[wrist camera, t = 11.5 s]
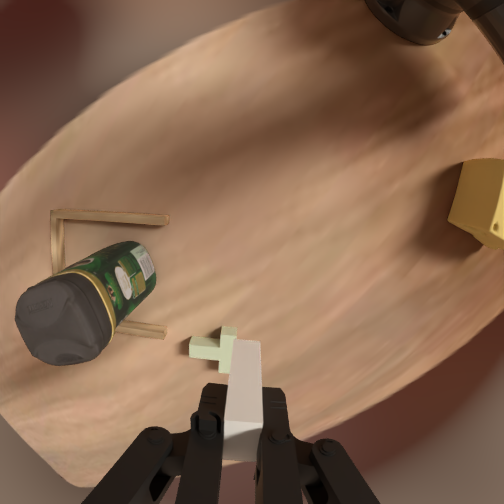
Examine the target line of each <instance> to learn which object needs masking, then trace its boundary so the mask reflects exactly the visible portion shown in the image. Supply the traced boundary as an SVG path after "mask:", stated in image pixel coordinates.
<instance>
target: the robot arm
mask: <svg viewBox="0 0 504 504" xmlns="http://www.w3.org/2000/svg"><path fill="white" fill-rule="evenodd" d="M365 1H366V3H367V5H368V7H369V8H370V10H371V11H372V12H373V14H374V15H375V16H376V17H377V18H378V19H379V20H380V21H381V22H382V23H383V24H384V25H385V26H386V27H388V28H389V29H390V30H392V31H393V32H394V33H396V34H398V35H399V36H401V37H403V38H405V39H407V40H409V41H412V42H415V43H418V44H423V45H432V44H436V43H438V42H440V41H441V40H443V39H444V38H446V37H447V36H448V35H449V34H450V32H451V30H452V28H453V26H454V24H455V22H456V20H457V18H458V16H459V14H460V13H461V12H462V11H464V12H465V13H466V14H467V15H468V16H469V17H470V19H471V20H472V21H473V22H474V24H475V25H476V26H477V28H478V29H479V30H480V31H481V33H482V34H483V35H484V37H485V38H486V39H487V41H488V42H489V43H490V45H491V46H492V48H493V49H494V51H495V52H496V54H497V55H498V56H499V58H500V59H501V61H502V63H503V64H504V0H365ZM190 420H191V429H190V430H188V431H186V432H182V433H174V434H170V432H169V431H168V430H166V429H164V428H162V427H157V426H155V427H148V428H145V429H144V430H143V431H142V432H141V433H140V434H139V435H138V436H137V438H136V439H135V440H134V441H133V443H132V444H131V445H130V446H129V447H128V449H127V450H126V451H125V452H124V453H123V455H122V456H121V457H120V458H119V460H118V461H117V462H116V463H115V464H114V466H113V467H112V468H111V469H110V470H109V471H108V473H107V474H106V475H105V476H104V477H103V479H102V480H101V481H100V482H99V483H98V485H97V486H96V487H95V488H94V489H93V491H92V492H91V493H90V494H89V495H88V496H87V497H86V499H85V500H84V501H83V502H82V503H81V504H159V503H160V501H161V500H162V498H163V496H164V495H165V493H166V491H167V490H168V488H169V486H170V485H171V483H172V482H173V480H174V478H175V477H176V476H179V475H181V478H180V483H179V487H178V492H177V497H176V501H175V504H218V501H219V500H218V499H219V490H220V480H221V470H222V459H224V460H235V461H251V462H256V458H257V465H256V470H255V475H254V480H255V504H303V500H302V492H301V489H302V491H303V493H304V495H305V497H306V499H307V502H308V504H380V502H379V501H378V499H377V498H376V496H375V495H374V494H373V492H372V490H371V489H370V487H369V486H368V485H367V483H366V482H365V480H364V479H363V477H362V476H361V474H360V472H359V471H358V469H357V468H356V466H355V465H354V463H353V462H352V460H351V459H350V457H349V456H348V454H347V453H346V451H345V449H344V448H343V446H342V445H341V444H340V443H339V442H337V441H335V440H332V439H320V440H318V441H316V442H315V443H314V444H312V443H308V442H304V441H301V440H299V439H297V438H295V437H294V436H293V434H292V433H291V431H290V427H289V420H288V412H287V405H286V397H285V394H284V392H283V391H282V390H281V389H280V388H271V387H262V376H261V350H260V341H251V340H239V339H234V340H233V349H232V357H231V365H230V373H229V382H228V385H224V384H215V383H208V384H207V385H206V386H205V387H204V388H203V390H202V394H201V399H200V403H199V408H198V411H196V412H195V413H193V414H192V416H191V418H190Z"/></svg>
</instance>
